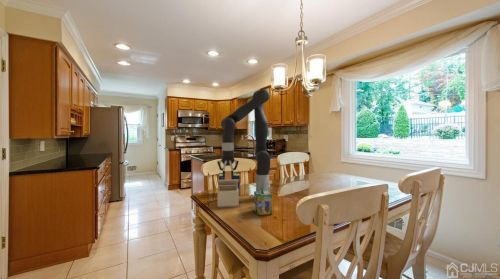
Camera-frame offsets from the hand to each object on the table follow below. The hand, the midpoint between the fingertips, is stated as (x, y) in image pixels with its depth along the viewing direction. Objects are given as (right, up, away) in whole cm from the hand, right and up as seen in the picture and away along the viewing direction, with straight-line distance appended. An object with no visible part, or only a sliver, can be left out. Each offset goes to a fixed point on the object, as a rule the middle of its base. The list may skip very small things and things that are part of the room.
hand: (228, 176), depth 137 cm
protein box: (-2, -18, +23) cm, 29 cm away
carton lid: (0, -5, +3) cm, 6 cm away
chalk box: (+21, -19, -11) cm, 31 cm away
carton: (0, -18, +4) cm, 18 cm away
